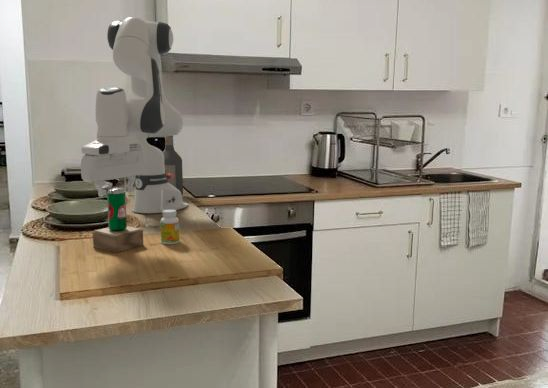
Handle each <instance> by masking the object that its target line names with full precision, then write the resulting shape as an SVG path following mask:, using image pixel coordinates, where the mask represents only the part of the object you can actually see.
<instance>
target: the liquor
mask: <svg viewBox="0 0 548 388" xmlns="http://www.w3.org/2000/svg"><path fill="white" fill-rule="evenodd" d="M164 140H165V143H164V145H165V146H164V150H163V151H162V152H163V154H164V164H165V173H166V174H168V173H169V174H172V176H173V178H172V179H170V178H169V179H168V181H169V183H170V184H171V185H173V186H174V187H175V188H177V189H178V190H179V191H180V192H181V194H182V196H183V195H184V185H183V183H184V182H183V181H184V180H183V179H184V178H183V159H182V157H181V155H180V154H179V153H178V152H177V151H176V150H175V147H174V146H175V145H174V135H173V136H168V137H164Z"/></svg>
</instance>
